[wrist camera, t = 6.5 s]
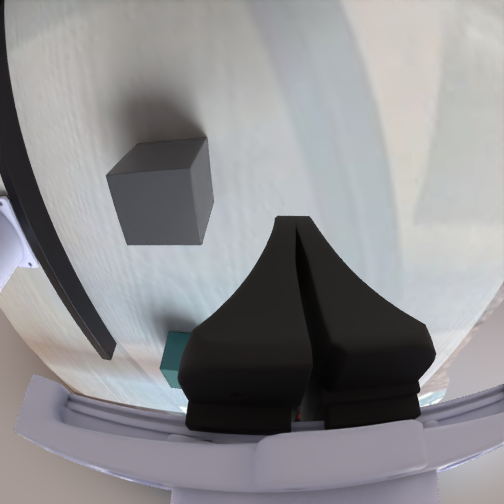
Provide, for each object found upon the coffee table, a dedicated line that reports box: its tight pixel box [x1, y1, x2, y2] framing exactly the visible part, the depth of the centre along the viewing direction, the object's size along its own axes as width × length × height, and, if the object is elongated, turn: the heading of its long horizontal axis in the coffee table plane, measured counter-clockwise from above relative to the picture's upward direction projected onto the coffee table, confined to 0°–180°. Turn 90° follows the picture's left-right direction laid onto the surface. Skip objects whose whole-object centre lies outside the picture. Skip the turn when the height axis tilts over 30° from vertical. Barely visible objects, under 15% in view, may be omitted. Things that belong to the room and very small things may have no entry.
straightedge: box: [0, 0, 116, 360], centre depth 18 cm, size 1×40×2 cm, turn 1°
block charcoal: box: [106, 138, 214, 245], centre depth 16 cm, size 4×4×4 cm
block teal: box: [160, 332, 191, 389], centre depth 28 cm, size 4×4×4 cm
